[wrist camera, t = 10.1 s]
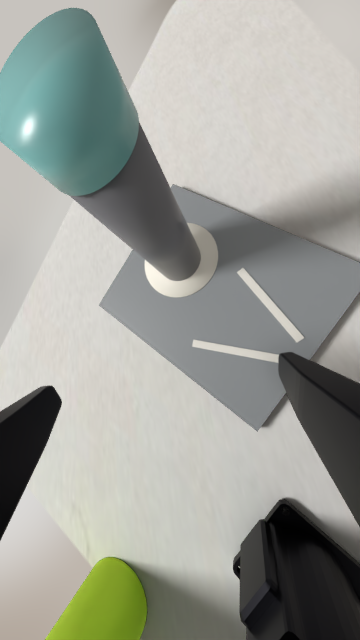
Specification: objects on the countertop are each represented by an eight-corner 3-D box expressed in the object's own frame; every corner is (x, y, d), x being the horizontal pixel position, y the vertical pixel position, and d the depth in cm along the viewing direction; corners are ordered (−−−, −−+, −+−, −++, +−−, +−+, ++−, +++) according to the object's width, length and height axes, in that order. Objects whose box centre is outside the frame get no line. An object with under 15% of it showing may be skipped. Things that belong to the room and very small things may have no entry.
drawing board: (369, 273, 14) (377, 268, 13) (256, 427, 15) (257, 432, 14) (175, 190, 20) (172, 183, 19) (103, 306, 21) (98, 304, 20)
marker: (210, 266, 17) (121, 65, 5) (168, 290, 18) (4, 174, 6) (189, 228, 18) (73, -19, 6) (151, 253, 19) (-20, 85, 7)
